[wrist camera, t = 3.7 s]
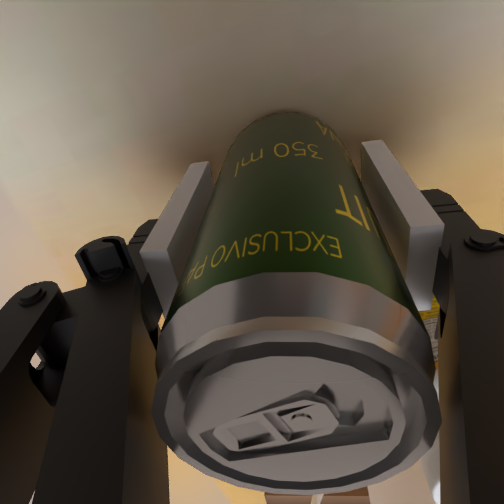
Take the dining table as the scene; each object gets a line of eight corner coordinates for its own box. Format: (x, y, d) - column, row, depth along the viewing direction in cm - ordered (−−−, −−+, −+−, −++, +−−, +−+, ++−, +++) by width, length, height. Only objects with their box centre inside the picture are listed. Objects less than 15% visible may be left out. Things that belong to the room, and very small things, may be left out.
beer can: (262, 240, 18) (240, 515, 8) (202, 147, 16) (70, 382, 6) (366, 193, 17) (490, 472, 7) (316, 81, 14) (393, 258, 4)
